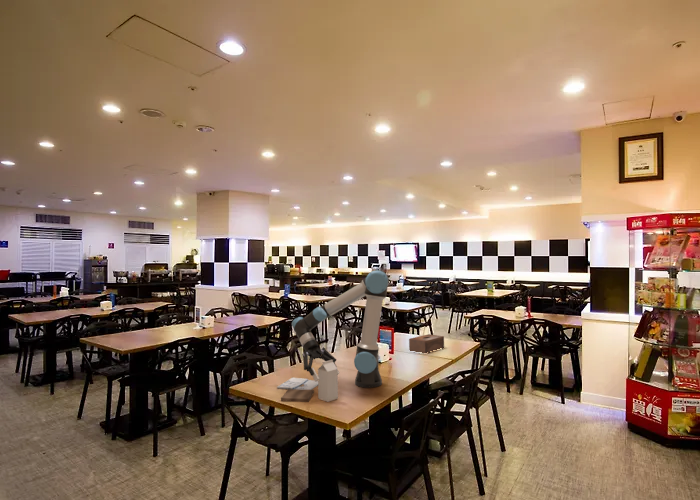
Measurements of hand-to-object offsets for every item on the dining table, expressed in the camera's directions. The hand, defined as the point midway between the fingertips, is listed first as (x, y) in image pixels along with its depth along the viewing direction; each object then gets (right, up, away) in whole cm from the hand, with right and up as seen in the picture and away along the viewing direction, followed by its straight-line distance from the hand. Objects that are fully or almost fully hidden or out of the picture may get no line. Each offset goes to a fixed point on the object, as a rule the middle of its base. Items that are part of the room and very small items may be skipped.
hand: (327, 377), depth 199 cm
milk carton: (0, -11, 0) cm, 11 cm away
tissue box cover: (+71, -14, +108) cm, 130 cm away
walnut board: (-16, -11, +4) cm, 20 cm away
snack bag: (-17, -13, +23) cm, 31 cm away
